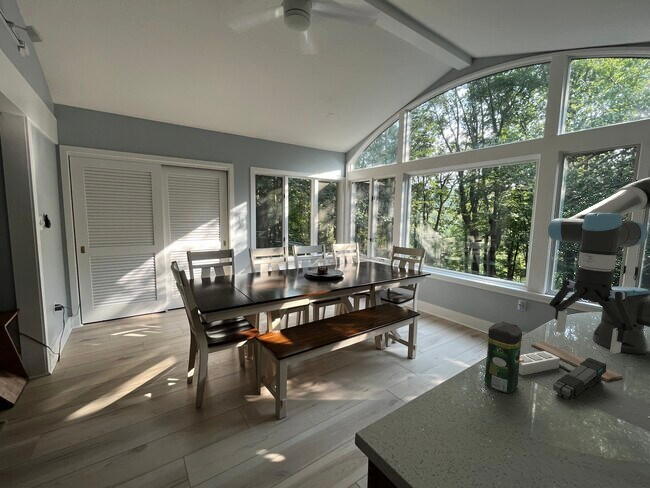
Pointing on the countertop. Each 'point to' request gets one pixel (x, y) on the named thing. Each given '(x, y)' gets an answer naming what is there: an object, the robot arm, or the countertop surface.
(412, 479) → the countertop surface
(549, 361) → the power strip
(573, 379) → the gun
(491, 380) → the coffee jar
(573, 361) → the walnut board
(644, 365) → the countertop surface
